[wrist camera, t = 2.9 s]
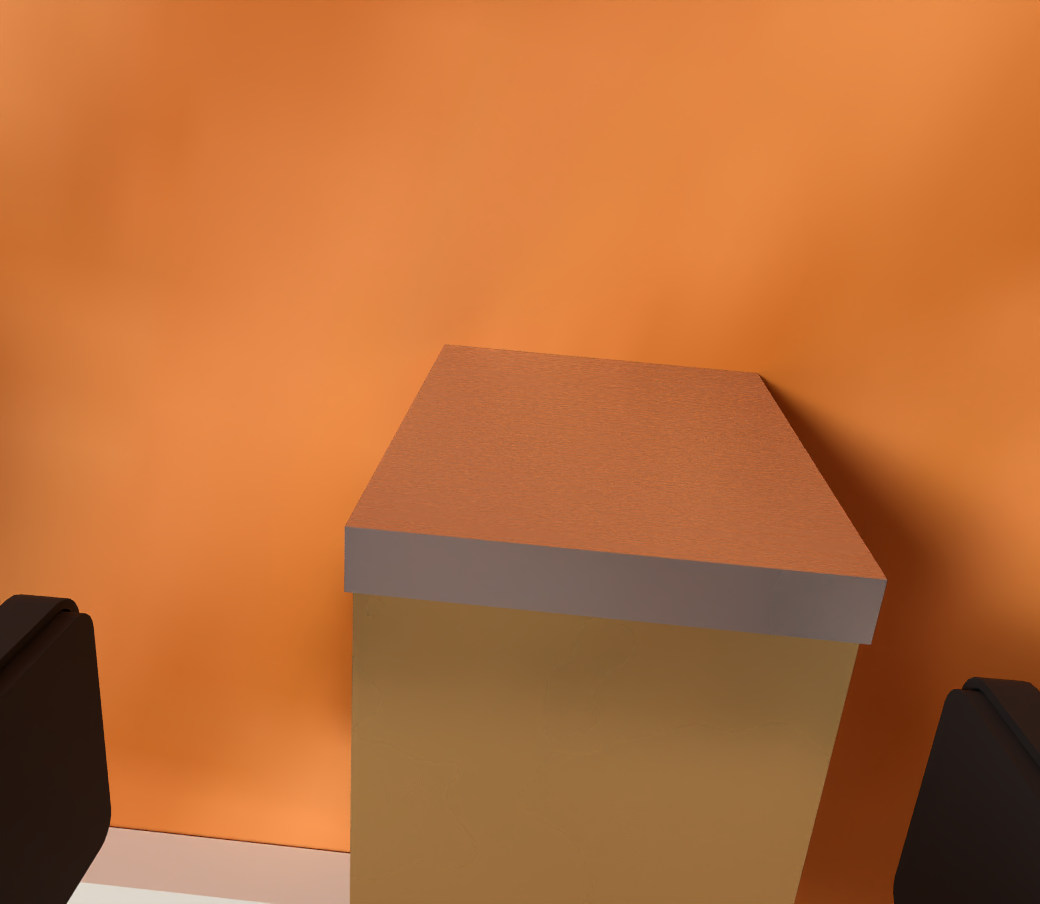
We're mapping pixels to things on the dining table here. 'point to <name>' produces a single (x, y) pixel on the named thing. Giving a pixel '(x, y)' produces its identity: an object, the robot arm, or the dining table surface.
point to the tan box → (595, 638)
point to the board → (210, 872)
